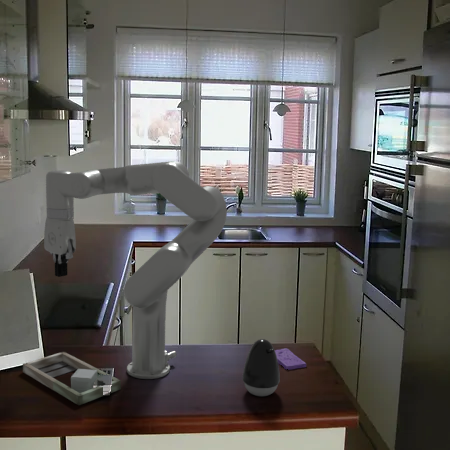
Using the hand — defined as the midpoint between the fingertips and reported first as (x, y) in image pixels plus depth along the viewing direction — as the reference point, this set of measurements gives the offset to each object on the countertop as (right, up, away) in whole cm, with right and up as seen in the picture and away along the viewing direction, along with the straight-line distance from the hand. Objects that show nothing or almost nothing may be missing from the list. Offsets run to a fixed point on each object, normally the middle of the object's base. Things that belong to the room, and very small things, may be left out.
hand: (61, 275), depth 169 cm
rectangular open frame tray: (+5, -29, -7) cm, 30 cm away
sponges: (+67, -29, +12) cm, 74 cm away
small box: (+10, -30, -12) cm, 34 cm away
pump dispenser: (+58, -31, -10) cm, 67 cm away
